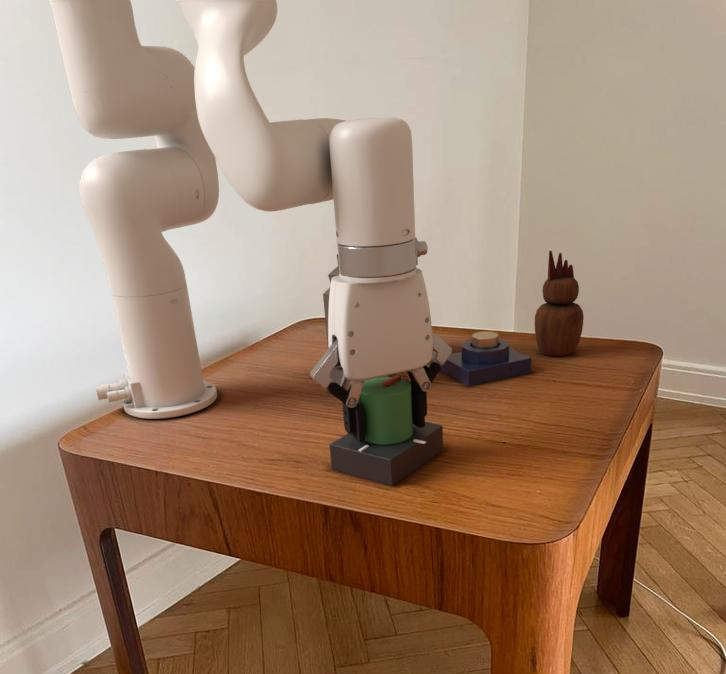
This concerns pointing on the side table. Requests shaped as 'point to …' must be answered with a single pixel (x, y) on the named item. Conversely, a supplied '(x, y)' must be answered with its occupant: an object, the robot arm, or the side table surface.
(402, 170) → the robot arm
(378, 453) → the knob base
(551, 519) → the side table surface
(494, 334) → the button
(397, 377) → the green rotary knob
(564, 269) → the wooden figurine
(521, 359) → the button block
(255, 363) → the side table surface
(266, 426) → the side table surface
